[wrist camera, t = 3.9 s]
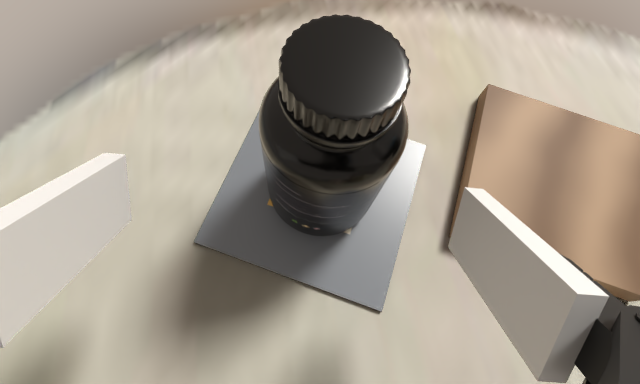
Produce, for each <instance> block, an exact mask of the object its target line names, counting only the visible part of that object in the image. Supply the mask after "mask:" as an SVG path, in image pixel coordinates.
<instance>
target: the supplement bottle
mask: <svg viewBox="0 0 640 384" xmlns="http://www.w3.org/2000/svg"><path fill="white" fill-rule="evenodd" d="M410 73H411V70H410V67H409V59H408V58H407V56H406V55H405V50H404V49H403V48H402V47H401V46H400V43H399V41H398V40H397V39H395V38H394V37H393V35H392V34H391V33H390V32H388V31H386V30H385V29H384V28H383V27H382V26H380V25H376V24H374V23H373V22H372V21H370V20H364V19H362V18H361V17H352V16H349V15H343V16H340V15H332V16H323V17H321V18H319V19H312V20H311V21H310V22H309V23H306V24H302V25H301V27H300V28H299V29H297V30H295V31H293V33H292V36H290V37H289V38H287V40H286V45H285V46H284V47H283V48H282V50H281V57H280V59H279V77H278V78H277V79H276V80H275V81H274V82H273V83H272V85H271V86H270V87H269V89H268V90H267V92H266V94H265V96H264V98H263V101H262V104H261V107H260V112H259V135H260V141H261V147H262V154H263V160H264V167H265V173H266V179H267V186H268V191H269V196H270V199H271V202H272V205H273V207H274V209H275V210H276V212H277V214H278V215H279V216H280V217H281V219H282V220H283V221H284V222H285V223H287V224H288V225H289V226H291V227H292V228H294V229H296V230H297V231H300V232H302V233H305V234H308V235H313V236H331V235H336V234H340V233H342V232H345V231H347V230H349V229H350V228H352V227H353V226H355V225H356V224H357V223H358V222H359V221H360V220H361V219H362V218H363V217H364V215H365V214H366V213H367V211H368V210H369V208H370V207H371V205H372V203H373V202H374V200H375V199H376V197H377V195H378V194H379V192H380V191H381V189H382V187H383V186H384V184H385V183H386V181H387V180H388V178H389V176H390V175H391V173H392V172H393V170H394V168H395V167H396V165H397V163H398V162H399V160H400V158H401V156H402V154H403V152H404V149H405V146H406V143H407V138H408V117H407V112H406V109H405V106H404V103H403V101H404V99H405V97H406V94H407V89H408V87H409V85H410V77H409V76H410Z"/></svg>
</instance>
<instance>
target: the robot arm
mask: <svg viewBox="0 0 640 384" xmlns="http://www.w3.org/2000/svg"><path fill="white" fill-rule="evenodd" d="M131 221H132V216H131V206H130V195H129V185H128V174H127V164H126V155H124V154H114V153H103V154H101V155H99V156H97V157H95V158H94V159H92V160H90V161H88V162H86V163H84V164H82V165H80V166H79V167H77V168H75V169H73V170H71V171H69V172H67V173H65V174H64V175H62V176H60V177H58V178H56V179H54V180H52V181H50V182H49V183H47V184H45V185H43V186H41V187H39V188H37V189H36V190H34V191H32V192H30V193H28V194H26V195H24V196H22V197H21V198H19V199H17V200H15V201H13V202H11V203H9V204H7V205H6V206H4V207H2V208H0V348H3V347H4V346H5V345H6V344H7V343H9V342H10V341H11V340H12V339H13V338H14V337H15V336H16V335H17V334H18V333H19V332H20V331H21V330H22V329H23V328H24V327H25V326H26V325H27V324H28V323H29V322H30V321H31V320H32V319H33V318H34V317H35V316H36V315H37V314H38V313H39V312H40V311H41V310H42V309H43V308H44V307H45V306H46V305H47V304H48V303H49V302H50V301H51V300H52V299H53V298H54V297H55V296H56V295H57V294H58V293H59V292H60V291H61V290H62V289H63V288H64V287H65V286H66V285H67V284H68V283H69V282H70V281H71V280H72V279H73V278H74V277H75V276H76V275H77V274H78V273H79V272H80V271H81V270H82V269H83V268H84V267H85V266H86V265H87V264H88V263H89V262H90V261H91V260H92V259H93V258H94V257H95V256H96V255H97V254H98V253H99V252H100V251H101V250H102V249H103V248H104V247H105V246H106V245H107V244H108V243H109V242H110V241H111V240H112V239H113V238H114V237H115V236H116V235H117V234H118V233H119V232H120V231H121V230H122V229H123V228H124V227H125V226H126V225H127V224H128V223H130V222H131ZM448 248H449V249H450V251H451V252H452V254H453V255H454V257H455V258H456V260H457V261H458V263H459V264H460V266H461V267H462V269H463V270H464V272H465V273H466V275H467V276H468V278H469V279H470V281H471V282H472V284H473V285H474V287H475V288H476V290H477V291H478V293H479V294H480V296H481V297H482V299H483V300H484V302H485V303H486V305H487V306H488V308H489V309H490V311H491V312H492V314H493V315H494V317H495V318H496V320H497V321H498V323H499V324H500V326H501V327H502V329H503V330H504V332H505V333H506V335H507V336H508V338H509V339H510V341H511V342H512V344H513V345H514V347H515V348H516V350H517V351H518V353H519V354H520V356H521V357H522V359H523V360H524V362H525V363H526V365H527V366H528V368H529V369H530V371H531V372H532V374H533V375H534V377H535V378H536V380H537V381H542V382H558V383H566V382H567V380H568V378H569V376H570V374H571V372H572V370H573V368H574V366H575V365H576V366H577V367H578V369H579V370H580V371H581V372H582V373H583V375H584V376H585V377H586V378H585V379H584V381H583V383H582V384H640V307H638V306H631V305H630V306H625V305H624V304H623V303H622V302H621V301H619V300H618V299H617V298H616V297H615V296H614V295H612V294H611V293H610V292H609V291H608V290H606V289H605V288H604V287H603V286H602V285H600V284H599V283H598V282H597V281H593V278H592V277H591V276H590V275H588V274H587V273H586V272H583V270H582V269H581V268H580V267H579V266H578V265H576V264H575V263H574V262H573V261H572V260H570V259H569V258H567V257H565V256H563V255H561V254H560V253H558V252H557V251H555V250H554V249H553V248H552V247H551V246H550V245H548V244H547V243H546V242H545V241H544V240H543V239H541V238H540V237H539V236H538V235H537V234H536V233H534V232H533V231H532V230H531V229H530V228H529V227H527V226H526V225H525V224H524V223H523V222H521V221H520V220H519V219H518V218H517V217H516V216H514V215H513V214H512V213H511V212H510V211H509V210H507V209H506V208H505V207H504V206H503V205H502V204H500V203H499V202H498V201H497V200H496V199H494V198H493V197H492V196H491V195H490V194H489V193H487V192H486V191H485V190H484V189H478V188H468V187H465V188H464V191H463V195H462V199H461V202H460V206H459V209H458V213H457V216H456V220H455V224H454V227H453V231H452V234H451V238H450V242H449V245H448Z"/></svg>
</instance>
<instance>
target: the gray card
mask: <svg viewBox="0 0 640 384" xmlns="http://www.w3.org/2000/svg"><path fill="white" fill-rule="evenodd" d="M259 112H260V111H259ZM425 148H426V145H424V144H421V143H418V142H415V141H412V140H409V139H407V143H406V146H405V149H404V152H403V154H402V156H401V158H400V160H399V162H398V163H397V165H396V167H395V168H394V170H393V172H392V173H391V175H390V176H389V178H388V180H387V181H386V183H385V184H384V186H383V187H382V189H381V191H380V192H379V194H378V195H377V197H376V199H375V200H374V202H373V203H372V205H371V207H370V208H369V210H368V211H367V213H366V214H365V215H364V217H363V218H362V219H361V220H360V221H359V222H358V223H357V224H356V225H355V226H353V227H352V228H350V229H349V230H347V231H345V232H342V233H340V234H336V235H331V236H313V235H308V234H305V233H302V232H300V231H297V230H296V229H294V228H292V227H291V226H289V225H288V224H287V223H285V222H284V221H283V220H282V219H281V217H280V216H279V215H278V214H277V212H276V210H275V209H274V207H273V205H272V202H271V199H270V196H269V191H268V186H267V179H266V173H265V167H264V160H263V154H262V147H261V141H260V135H259V113H258V115H257V117H256V119H255V121H254V123H253V125H252V127H251V129H250V131H249V133H248V135H247V136H246V138H245V140H244V142H243V144H242V146H241V148H240V150H239V152H238V154H237V156H236V158H235V160H234V162H233V164H232V166H231V168H230V170H229V172H228V174H227V176H226V178H225V180H224V182H223V184H222V186H221V188H220V190H219V192H218V194H217V196H216V198H215V200H214V202H213V204H212V206H211V208H210V210H209V212H208V214H207V216H206V218H205V220H204V222H203V224H202V226H201V228H200V230H199V232H198V234H197V236H196V238H195V240H194V243H197V244H200V245H202V246H205V247H208V248H210V249H213V250H216V251H218V252H221V253H224V254H227V255H229V256H232V257H235V258H237V259H240V260H243V261H245V262H248V263H251V264H253V265H256V266H259V267H262V268H264V269H267V270H270V271H272V272H275V273H278V274H280V275H283V276H286V277H289V278H291V279H294V280H297V281H299V282H302V283H305V284H307V285H310V286H313V287H315V288H318V289H321V290H324V291H326V292H329V293H332V294H334V295H337V296H340V297H342V298H345V299H348V300H350V301H353V302H356V303H359V304H361V305H364V306H367V307H369V308H372V309H375V310H377V311H380V312H382V309H383V306H384V302H385V298H386V294H387V291H388V287H389V283H390V279H391V276H392V272H393V268H394V264H395V261H396V257H397V253H398V249H399V246H400V242H401V238H402V234H403V231H404V227H405V223H406V219H407V215H408V212H409V208H410V204H411V200H412V197H413V193H414V189H415V185H416V182H417V178H418V174H419V170H420V167H421V163H422V159H423V155H424V152H425Z"/></svg>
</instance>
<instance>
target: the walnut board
mask: <svg viewBox="0 0 640 384" xmlns="http://www.w3.org/2000/svg"><path fill="white" fill-rule="evenodd" d="M465 187H468V188H478V189H484V190H485V191H486V192H487V193H489V194H490V195H491V196H492V197H493V198H494V199H496V200H497V201H498V202H499V203H500V204H502V205H503V206H504V207H505V208H506V209H507V210H509V211H510V212H511V213H512V214H513V215H514V216H516V217H517V218H518V219H519V220H520V221H521V222H523V223H524V224H525V225H526V226H527V227H529V228H530V229H531V230H532V231H533V232H534V233H536V234H537V235H538V236H539V237H540V238H541V239H543V240H544V241H545V242H546V243H547V244H548V245H550V246H551V247H552V248H553V249H554V250H555V251H557V252H558V253H560V254H561V255H563V256H565V257H567V258H569V259H570V260H572V261H573V262H574V263H575V264H576V265H578V266H579V267H580V268H581V269H582V270H583V272H586V273H587V274H588V275H590V276H591V277H592V278H593V281H597V282H598V283H599V284H600V285H602V286H603V287H604V288H605V289H606V290H608V291H609V292H610V293H611V294H612V295H614V296H615V297H618V298H621V299H624V300H626V301H638V300H640V135H639V134H636V133H633V132H630V131H627V130H624V129H621V128H618V127H615V126H612V125H609V124H606V123H604V122H601V121H598V120H595V119H592V118H589V117H586V116H583V115H580V114H577V113H574V112H571V111H568V110H565V109H562V108H559V107H556V106H553V105H550V104H547V103H544V102H541V101H538V100H535V99H532V98H529V97H526V96H523V95H520V94H517V93H514V92H511V91H508V90H505V89H502V88H499V87H496V86H493V85H490V84H488V86H487V87H486V88H485V89H484V91H483V92H482V93H481V94H480V96H479V98H478V103H477V107H476V112H475V117H474V121H473V126H472V131H471V136H470V140H469V145H468V150H467V154H466V159H465V164H464V169H463V173H462V178H461V183H460V187H459V192H458V197H457V202H456V206H455V211H454V216H453V220H452V225H451V230H450V234H449V237H450V238H451V234H452V231H453V227H454V224H455V220H456V216H457V213H458V209H459V206H460V202H461V199H462V195H463V191H464V188H465Z"/></svg>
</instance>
